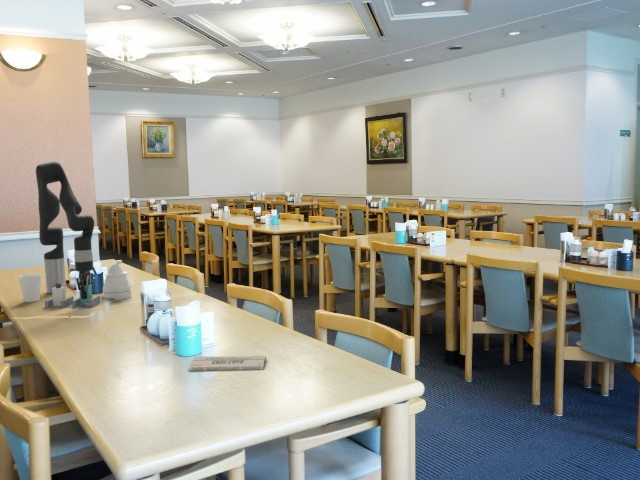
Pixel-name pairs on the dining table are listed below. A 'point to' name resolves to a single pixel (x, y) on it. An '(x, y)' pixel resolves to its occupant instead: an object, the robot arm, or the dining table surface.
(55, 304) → the white plug
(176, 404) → the dining table surface
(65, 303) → the comb board
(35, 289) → the foam cup
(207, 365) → the newspaper
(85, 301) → the teal plug
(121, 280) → the honey pot
